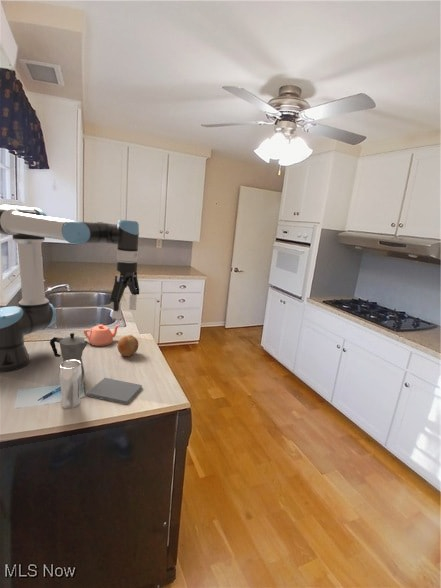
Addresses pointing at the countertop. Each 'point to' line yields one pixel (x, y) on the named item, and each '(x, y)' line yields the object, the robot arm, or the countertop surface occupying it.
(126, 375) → the countertop surface
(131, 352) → the onion
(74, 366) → the beer glass
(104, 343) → the teapot
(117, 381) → the slate board
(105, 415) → the countertop surface
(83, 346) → the coffeepot
